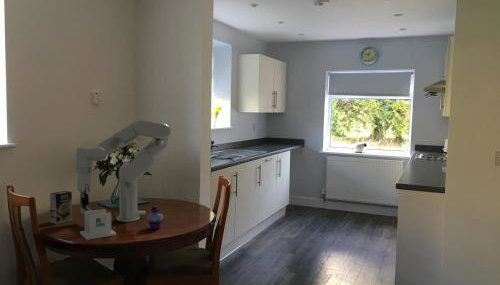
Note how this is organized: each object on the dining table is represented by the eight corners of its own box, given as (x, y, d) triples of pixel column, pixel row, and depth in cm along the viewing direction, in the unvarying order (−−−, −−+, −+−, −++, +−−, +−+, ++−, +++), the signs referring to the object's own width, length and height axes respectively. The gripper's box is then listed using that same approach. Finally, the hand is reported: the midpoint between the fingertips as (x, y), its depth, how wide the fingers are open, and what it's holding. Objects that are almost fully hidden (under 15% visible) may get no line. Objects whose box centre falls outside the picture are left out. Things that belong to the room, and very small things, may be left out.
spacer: (102, 222, 201) (104, 224, 198) (102, 230, 202) (105, 232, 198) (90, 224, 198) (93, 226, 195) (91, 232, 198) (93, 234, 195)
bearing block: (108, 228, 208) (108, 207, 207) (116, 234, 198) (116, 212, 197) (79, 233, 199) (79, 211, 199) (86, 239, 190) (86, 216, 189)
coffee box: (57, 224, 214) (56, 194, 212) (49, 222, 217) (49, 192, 216) (72, 220, 221) (72, 191, 220) (65, 218, 225) (64, 190, 224)
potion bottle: (156, 225, 216) (156, 203, 215) (166, 228, 211) (167, 205, 210) (142, 228, 209) (142, 205, 208) (153, 232, 204) (153, 208, 203)
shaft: (86, 211, 220) (86, 189, 219) (98, 220, 203) (98, 197, 202) (81, 212, 218) (80, 190, 217) (92, 221, 201) (92, 197, 200)
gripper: (73, 168, 220) (73, 202, 222) (80, 172, 207) (81, 208, 209) (87, 167, 225) (87, 200, 226) (95, 171, 212) (96, 206, 213)
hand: (84, 203), depth 218 cm, fingers closed on shaft, 3 cm apart
